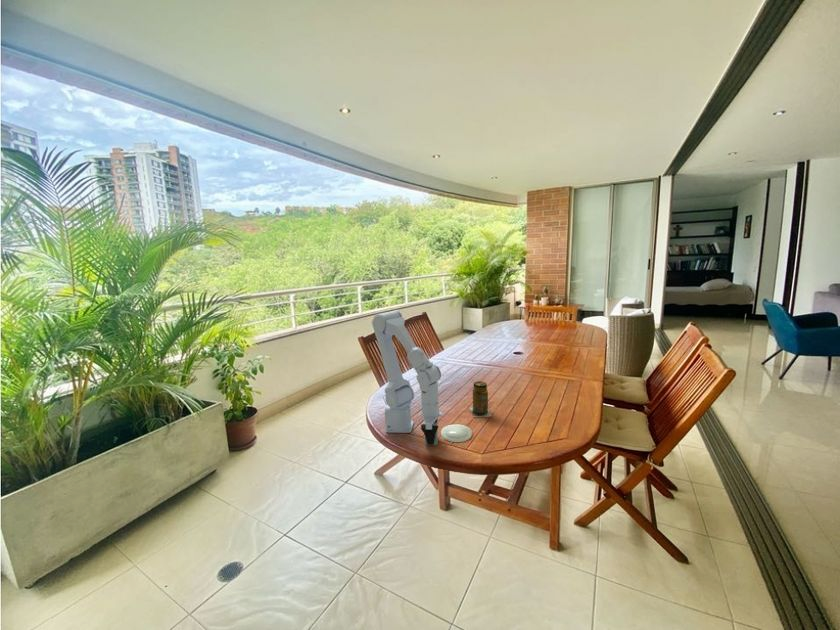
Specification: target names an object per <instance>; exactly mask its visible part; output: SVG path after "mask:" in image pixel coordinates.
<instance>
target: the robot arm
mask: <svg viewBox="0 0 840 630" xmlns="http://www.w3.org/2000/svg"><path fill="white" fill-rule="evenodd" d="M405 323H406V322H405V318H404V317H403V314H402V312H400V311H399V310H397V309H395V310H392V311H387V312H383V313H376V314H375V315H374V317H373V319H372V321H371V324H372V327H373V331H374V334H375V338H376V340H377V344H378V348H379V352H380V355H381V358H382V362H383V365H384V369H385V373H386V376H387V381H388V383H387V385H386V386H385V388H384V393H385V403H386V405H385V408H384V423H385V425H384V426H385V433H394V434H395V433H396V434H397V433H398V434H399V433H401V434H403V433H404V434H409V433H412V430H413V425H414V420H412V415H411V414H412V413H411V412H412V411H411V405H412V401H413V400H414V399H415V392H414V389H413V387H412V386H411V383H410V381H409V380H408V379H406V378H404V376H403V373H402V370H401V367H400V363H399V358H398V355H397V352H396V349H395V345H394V342H393V336H395V338H396V339H397V340H398V341H399V342H400V344H401V345H402V346H403V348H404V349H405V351H406V353H407V356H406V358H407V359H408V361H409V363H410V364H411V366H412V368H413V369H414V371H415V373H416V374H417V375H416V381H417V383H418V386H419V389H420V395H421V399H420V400H421V417H422V419H423V421H424V424H423V423H421V424H420V430H421V432H422V434H423V435H424V439H425V438H426V441H427V444H428V445H427V446H435V445H434V440H435V434H436V432H437V430H438V431H439V425H437V426H433V425H432V424H433V423H437V424H438V420H439V417H442V416H443V412H442V411H440V408H439V407H440V405H439V404H440V403H439V381H440V380H441V378H442V371H441V369H440V367H439V366H438V365H436V364H434V363H433V362H431V361H430V360H429V358H428V357H427V355H426V353H425V352H424V350H423V349H422V348H421V347H419V346H416V343H415V342H414V341H413V339H412V337H411V335H410V333H409V331H408V329H407V328H406V326H405Z"/></svg>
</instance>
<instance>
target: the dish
mask: <svg viewBox="0 0 840 630" xmlns="http://www.w3.org/2000/svg"><path fill="white" fill-rule="evenodd" d="M440 433H441V434H440V435H441V437H442V438H443V439H444V440H446V441H448V442H452V443H463V442H466V441H468V440H470V439H471V438H472V436H473V431H472V429H471V428H470V427H468V425H467V426H466V425H463V424H458V423H457V424H456V423H455V424H449V425H446V426H444V427H443V428H442V429H441V431H440Z"/></svg>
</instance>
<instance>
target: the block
mask: <svg viewBox="0 0 840 630" xmlns="http://www.w3.org/2000/svg"><path fill="white" fill-rule="evenodd" d="M432 425H433V426H438V422H437V423H433V424H432ZM438 432H439V429H438V430H437V432H436V434H435V440H434V445H433V446H437V445H438V441H439V440H438V439H439V438H438V436H439V433H438ZM424 439H425V440H424V442H425V443H424V444H425V446H429V445H428V444H427V441H426V438H425V437H424Z"/></svg>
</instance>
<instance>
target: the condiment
mask: <svg viewBox="0 0 840 630" xmlns="http://www.w3.org/2000/svg"><path fill="white" fill-rule="evenodd" d="M472 388H473V389H472V407H469V410H470V412H471V414H472V416H473V417H474V418H486V417H489V418H491V417H493V415H492V414H491V413H492V412H490V410H489V391H488V384H487V383H486V382H485V381H481V380H479V381H475V382H473V387H472Z"/></svg>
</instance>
